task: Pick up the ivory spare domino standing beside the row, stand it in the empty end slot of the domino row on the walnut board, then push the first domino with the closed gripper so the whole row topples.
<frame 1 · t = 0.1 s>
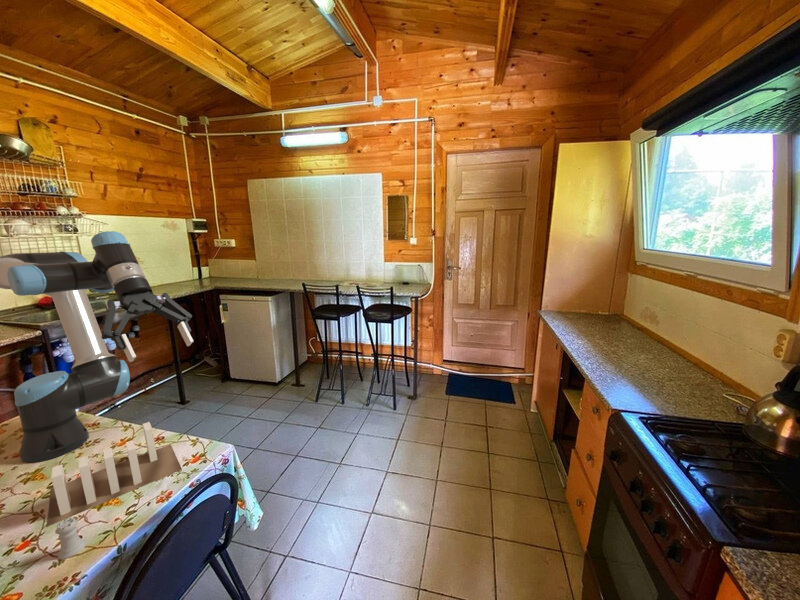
hand: (163, 351, 86), 36 cm above the table, tool tilted 35°, fingers open, 13 cm apart
domino 2: (91, 497, 82), point 1 cm above the table, touching walnut board
domino 3: (114, 487, 85), point 1 cm above the table, touching walnut board
domino 4: (136, 478, 88), point 1 cm above the table, touching walnut board
rook chess piece: (73, 556, 68), on the table
walnut board: (119, 483, 88), on the table
spare domino: (152, 456, 96), point 1 cm above the table, touching walnut board
domino 1: (65, 507, 79), point 1 cm above the table, touching walnut board
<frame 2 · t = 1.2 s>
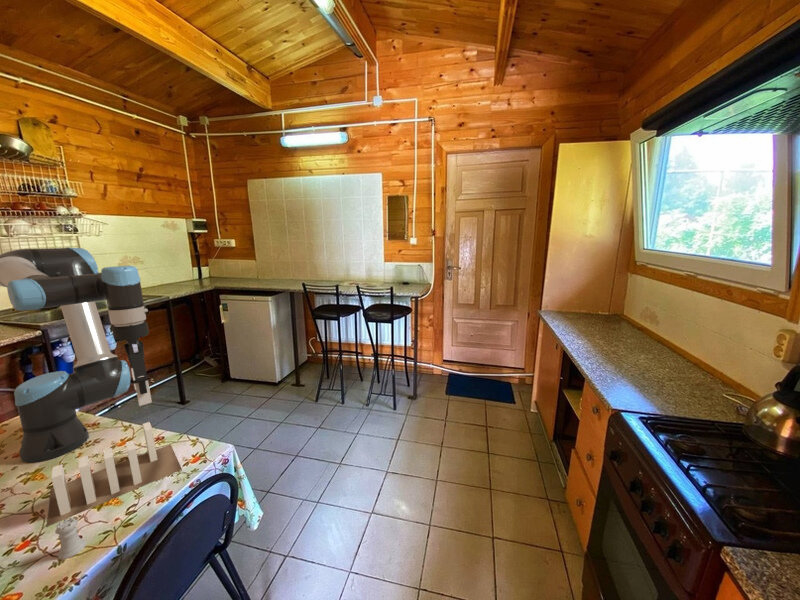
hand: (143, 395, 93), 21 cm above the table, tool pointing down, fingers open, 13 cm apart
nothing on the table moved.
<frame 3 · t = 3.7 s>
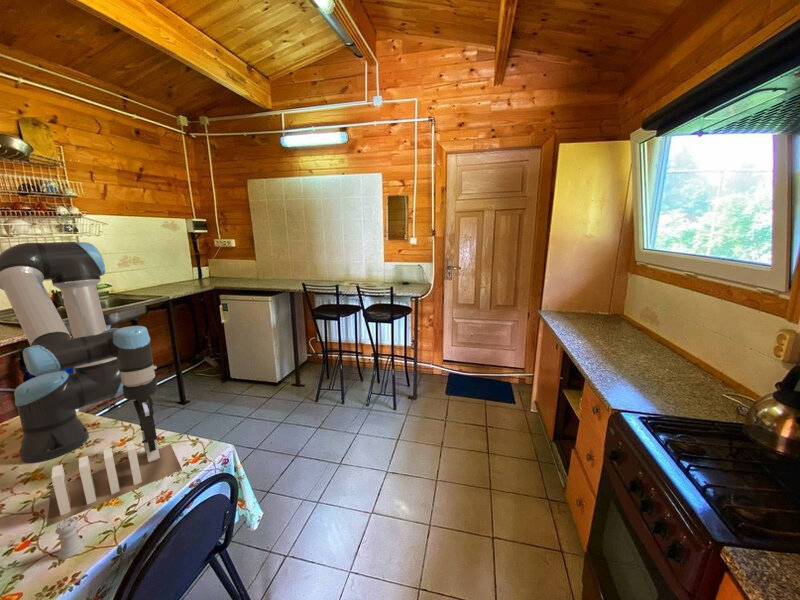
hand: (152, 454, 96), 2 cm above the table, tool pointing down, fingers closed on spare domino, 5 cm apart
spare domino: (152, 456, 96), point 1 cm above the table, touching gripper, walnut board
everything else where it was.
when the fingers open (3 cm above the table, at t = 8.8 s): spare domino stays where it is, resting on walnut board.
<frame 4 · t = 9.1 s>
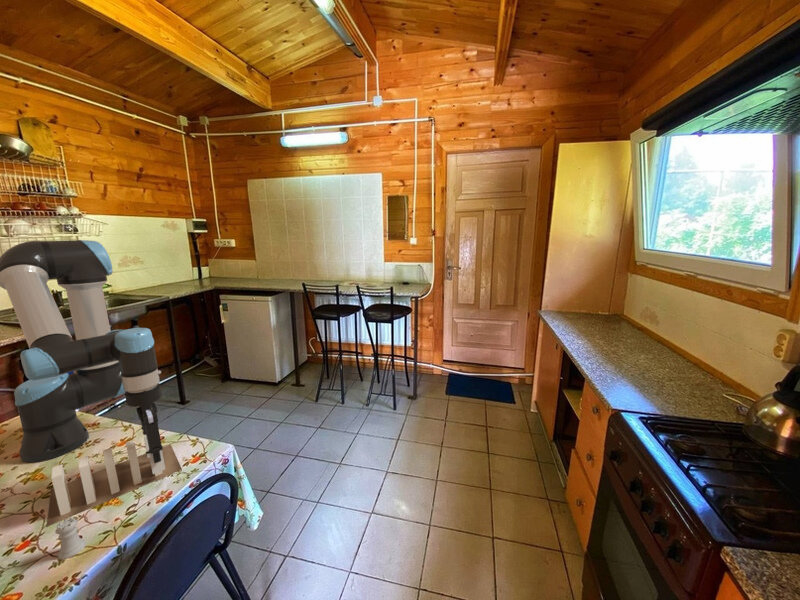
hand: (156, 462, 90), 4 cm above the table, tool pointing down, fingers open, 8 cm apart
spare domino: (157, 470, 91), point 1 cm above the table, touching walnut board
everything else where it was.
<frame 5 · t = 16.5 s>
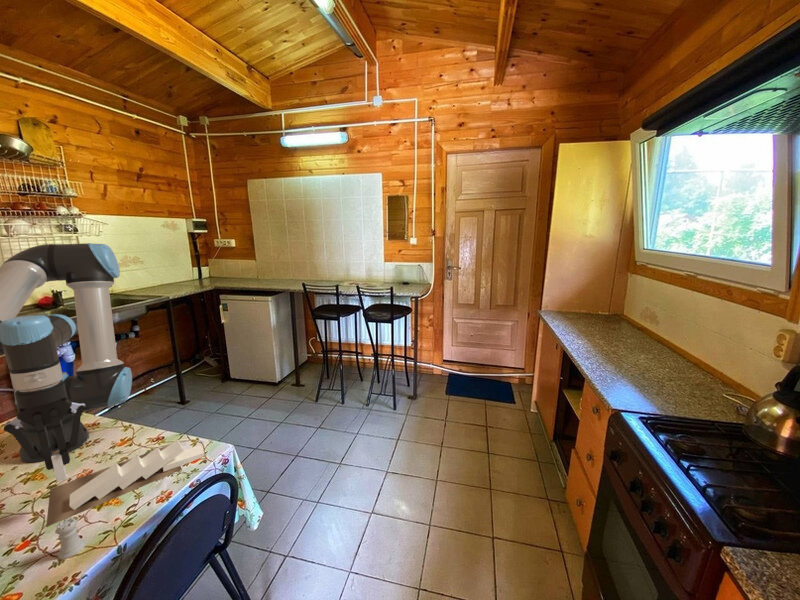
hand: (61, 477, 77), 9 cm above the table, tool pointing down, fingers closed
domino 2: (96, 492, 82), point 2 cm above the table, tilted 68°, touching domino 3, walnut board
domino 3: (119, 482, 85), point 2 cm above the table, tilted 67°, touching domino 2
domino 4: (142, 472, 88), point 2 cm above the table, tilted 67°, touching spare domino
spare domino: (161, 464, 91), point 3 cm above the table, tilted 95°, touching domino 4, walnut board
domino 1: (71, 502, 79), point 2 cm above the table, tilted 68°, touching walnut board
everything else where it was.
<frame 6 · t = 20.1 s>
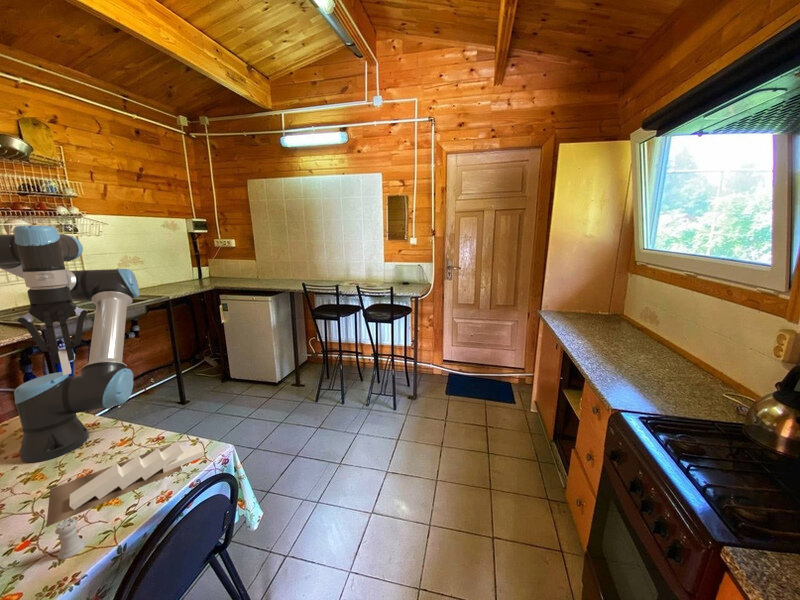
hand: (67, 372, 88), 29 cm above the table, tool pointing down, fingers closed
domino 2: (96, 492, 82), point 2 cm above the table, tilted 69°, touching domino 1, domino 3
domino 3: (119, 482, 85), point 2 cm above the table, tilted 69°, touching domino 2, domino 4, walnut board
domino 4: (141, 473, 88), point 2 cm above the table, tilted 69°, touching domino 3, spare domino
spare domino: (161, 465, 91), point 2 cm above the table, tilted 90°, touching domino 4, walnut board
domino 1: (72, 502, 79), point 2 cm above the table, tilted 69°, touching domino 2, walnut board
everything else where it was.
at the end: spare domino tilted 90°; domino 3 tilted 69°; domino 1 tilted 69° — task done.
